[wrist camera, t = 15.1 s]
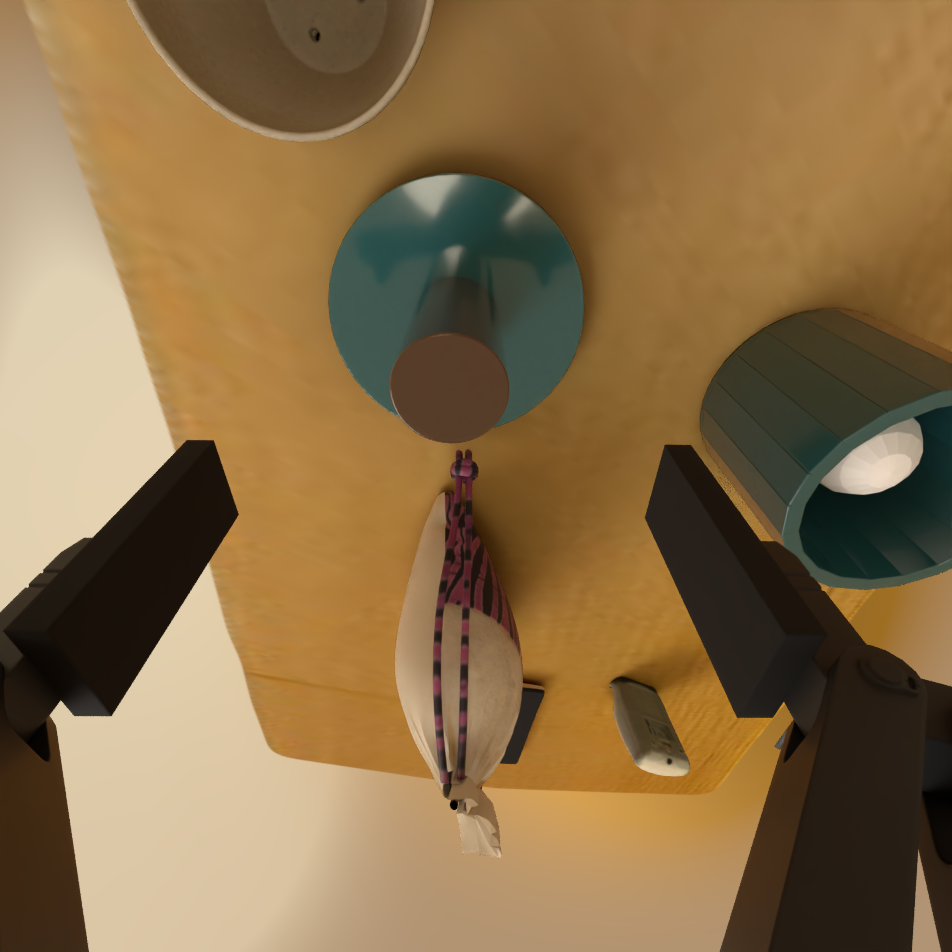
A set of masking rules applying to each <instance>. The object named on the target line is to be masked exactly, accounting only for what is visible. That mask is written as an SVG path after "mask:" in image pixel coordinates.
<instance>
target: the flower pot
mask: <svg viewBox="0 0 952 952" xmlns="http://www.w3.org/2000/svg"><path fill="white" fill-rule="evenodd" d="M126 1H127V3H128V5H129V7H130V9H131V11H132V13H133V15H134V16H135V18H136V20H137V22H138V23H139V25H140V27H141V28H142V30H143V32H144V33H145V35H146V36H147V38H148V39H149V41H150V42H151V44H152V45H153V47H154V48H155V49H156V51H157V52H158V53H159V55H160V56H161V57H162V58H163V60H164V61H165V62H166V64H167V65H168V66H169V67H170V68H171V70H172V71H173V72H174V73H175V74H176V76H177V77H178V78H179V79H180V80H181V81H182V82H183V83H184V84H185V85H186V86H187V87H188V88H189V89H190V90H191V91H192V92H193V93H195V94H196V95H197V96H198V97H199V98H200V99H201V100H202V101H204V102H205V103H206V104H207V105H209V106H210V107H211V108H213V109H214V110H216V111H217V112H219V113H220V114H221V115H223V116H224V117H226V118H227V119H229V120H231V121H233V122H234V123H236V124H238V125H240V126H242V127H243V128H246V129H248V130H250V131H253V132H255V133H258V134H261V135H264V136H267V137H271V138H275V139H279V140H284V141H293V142H312V141H322V140H327V139H331V138H335V137H338V136H341V135H344V134H346V133H349V132H351V131H353V130H355V129H357V128H359V127H360V126H362V125H364V124H365V123H367V122H368V121H370V120H371V119H373V118H374V117H375V116H376V115H378V114H379V113H380V112H381V111H382V110H383V109H384V108H385V107H386V106H387V105H388V104H389V103H390V102H391V101H392V100H393V99H394V98H395V97H396V95H397V94H398V93H399V91H400V90H401V89H402V87H403V86H404V84H405V83H406V81H407V79H408V78H409V76H410V74H411V72H412V70H413V68H414V66H415V64H416V62H417V60H418V58H419V56H420V53H421V50H422V48H423V45H424V43H425V39H426V36H427V33H428V29H429V26H430V22H431V17H432V12H433V7H434V2H435V0H126ZM317 33H320V38H319V40H318V41H317V40H316V35H317Z"/></svg>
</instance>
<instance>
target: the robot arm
mask: <svg viewBox="0 0 952 952" xmlns="http://www.w3.org/2000/svg"><path fill="white" fill-rule="evenodd" d="M238 515H239V514H238V511H237V508H236V505H235V502H234V499H233V496H232V493H231V490H230V487H229V484H228V481H227V478H226V476H225V473H224V470H223V467H222V464H221V461H220V458H219V455H218V452H217V449H216V446H215V443H214V440H187V441H186V442H185V443H184V444H183V445H182V446H181V447H180V448H179V449H178V450H177V451H176V452H175V453H174V454H173V455H172V456H171V457H170V458H169V459H168V460H167V461H166V463H164V465H163V466H162V467H161V468H160V469H159V470H158V471H157V472H156V473H155V474H154V475H153V476H152V477H151V478H150V479H149V480H148V481H147V482H146V483H145V484H144V485H143V486H142V487H141V488H140V490H138V492H137V493H135V495H134V496H133V497H132V498H131V499H130V500H129V501H128V502H127V503H126V504H125V505H124V506H123V507H122V508H121V509H120V510H119V511H118V512H117V513H116V514H115V515H114V516H113V517H112V518H111V519H110V520H109V521H108V522H107V524H106V525H105V526H104V527H103V528H102V529H101V530H100V531H99V532H98V533H97V534H96V535H95V536H94V537H93V538H83V539H82V540H80V541H78V542H77V543H75V544H74V545H72V546H71V547H69V548H67V549H66V550H64V551H63V552H61V553H60V554H59V555H58V556H57V557H56V558H55V559H54V560H53V561H52V562H51V563H50V564H49V565H48V566H47V567H46V568H45V569H44V570H43V571H44V572H43V573H40V574H39V575H38V576H37V577H35V578H34V579H33V580H32V581H31V582H30V584H29V587H28V588H25V589H23V590H22V591H21V592H20V593H19V594H18V595H17V596H16V597H15V598H14V599H13V600H12V601H11V602H10V603H9V604H8V605H7V606H6V607H5V608H4V609H3V610H2V611H1V612H0V952H89V950H88V943H87V936H86V929H85V922H84V915H83V908H82V902H81V894H80V888H79V881H78V874H77V867H76V860H75V853H74V846H73V839H72V833H71V826H70V819H69V812H68V806H67V799H66V791H65V785H64V778H63V771H62V764H61V757H60V750H59V743H58V736H57V730H56V725H55V724H54V722H53V720H52V719H51V717H50V716H49V715H50V714H51V712H52V711H53V710H54V709H55V707H56V706H57V705H58V703H59V702H60V700H61V701H62V702H63V703H64V704H65V705H66V707H67V708H68V709H69V710H70V711H71V713H72V714H73V715H74V716H112V714H113V713H114V711H115V710H116V708H117V706H118V705H119V703H120V702H121V700H122V699H123V697H124V695H125V694H126V692H127V691H128V689H129V688H130V686H131V684H132V683H133V681H134V680H135V678H136V676H137V675H138V673H139V672H140V670H141V668H142V667H143V665H144V664H145V662H146V661H147V659H148V658H149V656H150V654H151V652H152V651H153V650H154V648H155V646H156V645H157V643H158V642H159V640H160V638H161V637H162V635H163V634H164V632H165V631H166V629H167V627H168V626H169V624H170V623H171V621H172V620H173V618H174V616H175V615H176V613H177V612H178V610H179V608H180V607H181V605H182V604H183V602H184V600H185V599H186V597H187V596H188V594H189V593H190V591H191V589H192V588H193V586H194V585H195V583H196V582H197V580H198V578H199V577H200V575H201V574H202V572H203V570H204V569H205V567H206V566H207V564H208V563H209V561H210V559H211V558H212V556H213V555H214V553H215V551H216V550H217V548H218V547H219V545H220V544H221V542H222V540H223V539H224V537H225V536H226V534H227V533H228V531H229V529H230V528H231V526H232V525H233V523H234V521H235V520H236V518H237V517H238ZM645 519H646V521H647V524H648V526H649V528H650V530H651V532H652V534H653V537H654V539H655V541H656V543H657V545H658V547H659V550H660V552H661V554H662V556H663V558H664V560H665V563H666V565H667V567H668V569H669V571H670V573H671V576H672V578H673V580H674V582H675V584H676V586H677V589H678V591H679V593H680V595H681V597H682V599H683V602H684V604H685V606H686V608H687V610H688V612H689V615H690V617H691V619H692V621H693V623H694V625H695V628H696V630H697V632H698V634H699V636H700V638H701V641H702V643H703V645H704V647H705V649H706V651H707V654H708V656H709V658H710V660H711V662H712V664H713V667H714V669H715V671H716V673H717V675H718V677H719V680H720V682H721V684H722V686H723V688H724V690H725V693H726V695H727V697H728V699H729V701H730V703H731V706H732V708H733V710H734V712H735V714H736V716H737V718H773V717H774V715H775V714H776V712H777V711H778V709H779V708H780V706H781V705H782V703H783V702H785V704H786V706H787V708H788V710H789V711H790V713H791V715H792V717H793V719H794V720H793V721H792V722H791V724H790V725H789V727H788V728H787V729H786V731H785V732H784V734H783V735H782V736H781V738H780V739H779V741H778V742H777V743H776V745H775V747H776V748H778V749H781V752H780V755H779V759H778V762H777V765H776V768H775V771H774V775H773V778H772V781H771V785H770V788H769V791H768V795H767V798H766V801H765V805H764V808H763V812H762V814H761V818H760V821H759V824H758V828H757V831H756V834H755V838H754V841H753V844H752V847H751V851H750V854H749V857H748V861H747V864H746V867H745V870H744V874H743V877H742V880H741V883H740V887H739V890H738V893H737V897H736V900H735V903H734V906H733V910H732V913H731V916H730V920H729V923H728V926H727V930H726V933H725V937H724V940H723V943H722V946H721V949H720V952H912V939H913V923H914V907H915V891H916V876H917V861H918V849H919V853H920V858H921V862H922V866H923V871H924V876H925V880H926V884H927V889H928V893H929V898H930V903H931V907H932V912H933V916H934V921H935V925H936V930H937V934H938V939H939V943H940V947H941V952H952V687H951V686H947V685H944V684H940V683H936V682H932V681H928V680H925V679H921V678H920V677H919V676H918V674H917V673H916V671H914V670H913V669H912V668H911V667H910V666H909V665H907V664H906V663H905V662H904V661H903V660H901V659H900V658H898V657H896V656H895V655H893V654H891V653H889V652H888V651H886V650H883V649H880V648H877V647H874V646H871V645H867V644H866V643H865V642H864V641H863V640H862V638H861V637H860V636H859V634H858V633H857V632H856V631H855V629H854V628H853V627H852V626H851V624H850V623H849V622H848V620H847V619H846V618H845V617H844V615H843V614H842V613H841V612H840V610H839V609H838V608H837V606H836V605H835V604H834V603H833V601H832V600H831V599H830V598H829V596H828V595H827V594H826V592H825V591H822V590H821V586H820V585H819V584H818V582H817V581H816V580H815V579H814V577H811V576H810V572H809V571H808V570H807V568H806V567H805V566H804V565H803V563H802V562H801V561H800V559H799V558H798V557H797V556H796V555H795V554H793V553H792V552H791V551H789V550H788V549H786V548H785V547H784V546H782V545H781V544H780V543H778V542H777V541H760V540H759V538H758V537H757V535H756V534H755V533H754V531H753V530H752V529H751V527H750V526H749V524H748V523H747V522H746V520H745V519H744V518H743V516H742V515H741V513H740V512H739V511H738V509H737V508H736V507H735V505H734V504H733V502H732V501H731V500H730V498H729V497H728V496H727V494H726V493H725V491H724V490H723V489H722V487H721V486H720V485H719V483H718V482H717V480H716V479H715V478H714V476H713V475H712V473H711V472H710V471H709V469H708V468H707V467H706V465H705V464H704V462H703V461H702V460H701V458H700V457H699V456H698V454H697V453H696V451H695V450H694V449H693V447H692V446H691V445H665V446H664V450H663V454H662V457H661V461H660V465H659V468H658V472H657V475H656V479H655V483H654V486H653V490H652V494H651V497H650V501H649V505H648V508H647V512H646V516H645Z"/></svg>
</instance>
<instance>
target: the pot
mask: <svg viewBox="0 0 952 952" xmlns="http://www.w3.org/2000/svg"><path fill="white" fill-rule="evenodd" d="M911 418H914V419H915V420H916V421H917V422H918V423H919V424H920V428H921V432H922V437H923V453H922V456H921V459H920V461H919V464H918V465H917V466H916V468H915V469H914V470H913V471H912V472H911V474H910V475H909V476H908V477H906V478H905V479H904V480H902V481H901V482H899V483H898V484H897V485H895V486H893V487H891V488H888V489H886V490H884V491H881V492H878V493H872V494H866V495H860V494H848V493H841V492H834V491H832V490H830V489H828V488H827V487H825V486H823V485H822V484H820V482H821V480H822V479H823V477H824V476H826V475H827V474H828V473H829V472H830V471H831V470H832V469H833V468H834V467H835V466H836V465H837V464H838V463H839V462H841V461H842V460H843V459H844V458H845V457H846V456H847V455H848V454H849V453H850V452H851V451H852V450H853V449H855V448H857V447H858V446H860V445H862V444H863V443H865V442H866V441H868V440H870V439H871V438H873V437H874V436H876V435H878V434H879V433H881V432H883V431H884V430H886V429H887V428H889V427H891V426H892V425H895V424H898V423H900V422H903V421H905V420H908V419H911ZM700 430H701V435H702V439H703V442H704V444H705V446H706V448H707V450H708V452H709V454H710V456H711V457H712V458H713V460H714V461H715V462H716V464H717V465H718V466H719V468H720V469H721V471H722V472H723V473H724V475H725V476H726V477H727V479H728V480H729V481H730V483H731V484H732V485H733V487H734V488H735V489H736V491H737V492H738V493H739V495H740V496H741V497H742V499H743V500H744V501H745V503H746V504H747V505H748V507H749V508H750V509H751V511H752V512H753V514H754V515H755V516H756V518H757V519H758V520H759V522H760V523H761V524H762V526H763V527H764V528H765V530H766V531H767V532H768V534H769V535H770V536H771V538H772V539H773V540H774V541H777V542H778V543H780V544H781V545H782V546H784V547H785V548H786V549H788V550H789V551H791V552H792V553H793V554H795V555H796V556H797V557H798V558H799V559H800V561H801V562H802V563H803V565H804V566H805V567H806V568H807V570H808V571H809V572H810V576H811V577H814V579H815V580H816V581H817V582H819V583H822V584H824V585H827V586H829V587H837V588H848V589H859V590H863V589H864V590H870V589H878V588H886V587H893V586H901V585H904V584H907V583H911V582H914V581H917V580H921V579H924V578H927V577H930V576H934V575H937V574H940V573H943V572H945V571H947V570H949V569H951V568H952V351H949V350H947V349H945V348H942V347H940V346H938V345H936V344H933V343H931V342H929V341H927V340H924V339H922V338H920V337H918V336H915V335H913V334H911V333H909V332H906V331H904V330H902V329H900V328H897V327H895V326H893V325H891V324H888V323H886V322H884V321H882V320H879V319H877V318H875V317H873V316H870V315H868V314H865V313H860V312H857V311H853V310H848V309H838V308H828V309H817V310H812V311H806V312H803V313H799V314H796V315H792V316H790V317H787V318H785V319H782V320H780V321H778V322H776V323H774V324H772V325H770V326H768V327H766V328H765V329H763V330H761V331H760V332H758V333H757V334H755V335H754V336H752V337H751V338H750V339H749V340H747V341H746V342H745V343H744V344H742V345H741V346H740V347H739V348H738V349H737V350H736V351H735V352H734V353H733V354H732V355H731V356H730V357H729V358H728V359H727V360H726V361H725V363H724V364H723V365H722V366H721V368H720V369H719V370H718V372H717V373H716V375H715V376H714V378H713V380H712V382H711V384H710V385H709V387H708V389H707V392H706V395H705V397H704V400H703V404H702V408H701V415H700Z"/></svg>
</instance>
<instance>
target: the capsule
mask: <svg viewBox="0 0 952 952" xmlns="http://www.w3.org/2000/svg"><path fill="white" fill-rule="evenodd" d="M922 453H923V437H922V432H921V428H920V424H919V423H918V422H917V421H916V420H915V419H914V418H911V419H908V420H905V421H903V422H900V423H898V424H895V425H892V426H891V427H889V428H887V429H886V430H884V431H883V432H881V433H879V434H878V435H876V436H874V437H873V438H871V439H870V440H868V441H866V442H865V443H863V444H862V445H860V446H858V447H857V448H855V449H853V450H852V451H851V452H850V453H849V454H848V455H847V456H846V457H845V458H844V459H843V460H842V461H841V462H839V463H838V464H837V465H836V466H835V467H834V468H833V469H832V470H831V471H830V472H829V473H828V474H827V475H826V476H824V477H823V479H822V480H821V482H820V484H822V485H823V486H825V487H827V488H828V489H830V490H832V491H834V492H841V493H848V494H860V495H866V494H872V493H878V492H881V491H884V490H886V489H888V488H891V487H893V486H895V485H897V484H898V483H899V482H901V481H902V480H904V479H905V478H906V477H908V476H909V475H910V474H911V472H912V471H913V470H914V469H915V468H916V466H917V465H918V464H919V461H920V459H921V456H922Z"/></svg>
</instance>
